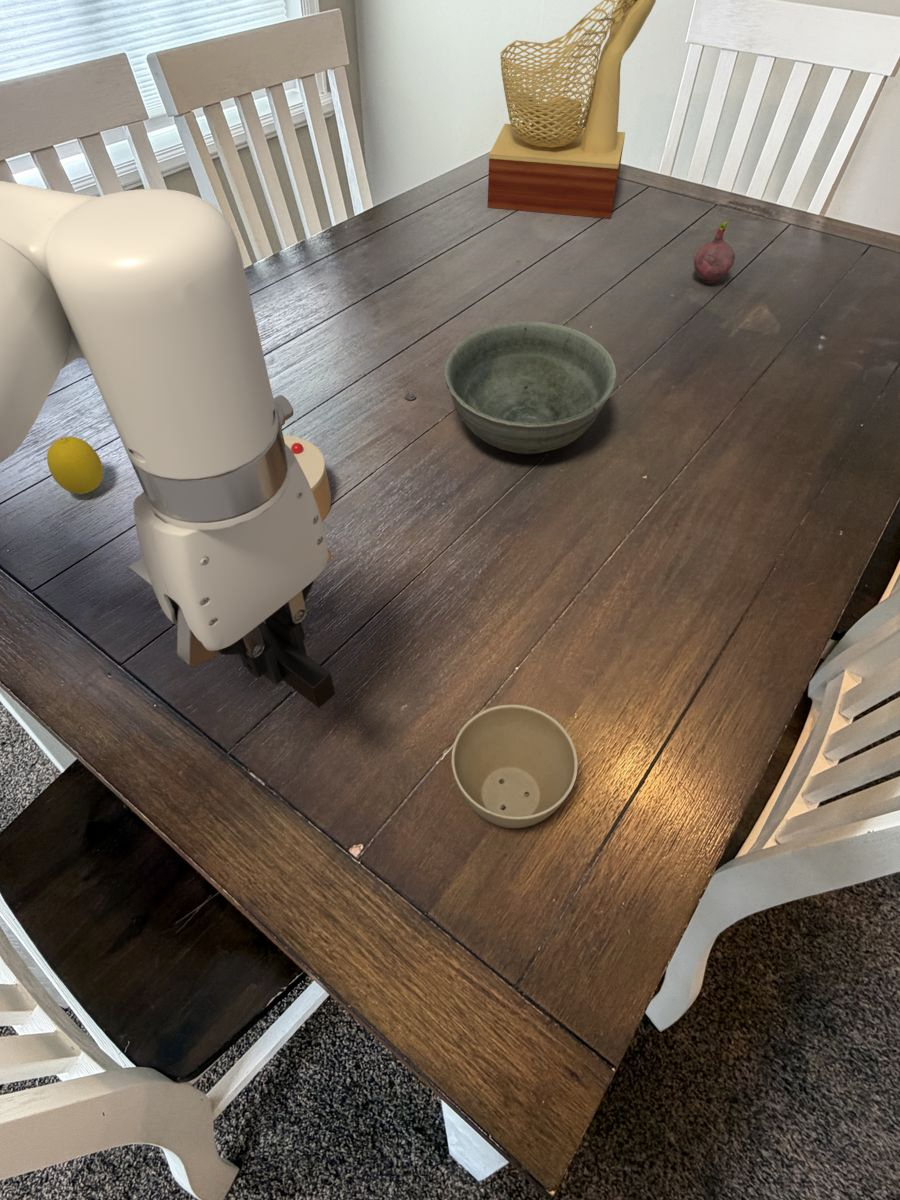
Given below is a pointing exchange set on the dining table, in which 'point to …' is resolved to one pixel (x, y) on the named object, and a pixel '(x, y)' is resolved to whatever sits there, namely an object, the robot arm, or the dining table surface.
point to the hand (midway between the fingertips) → (277, 660)
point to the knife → (284, 659)
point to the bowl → (529, 384)
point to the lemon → (75, 465)
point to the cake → (312, 470)
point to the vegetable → (714, 258)
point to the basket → (565, 121)
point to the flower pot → (514, 765)
